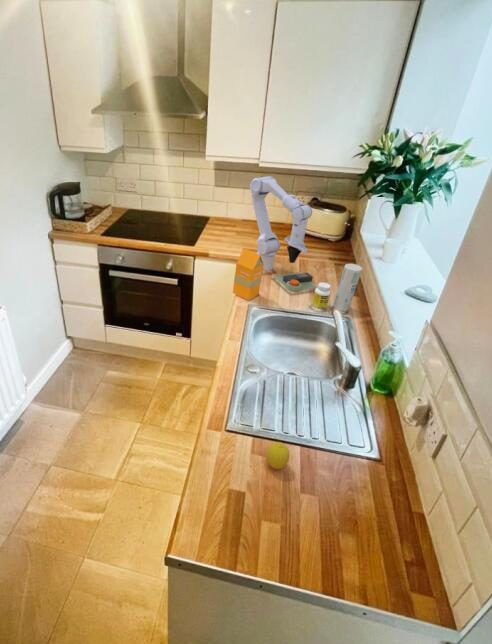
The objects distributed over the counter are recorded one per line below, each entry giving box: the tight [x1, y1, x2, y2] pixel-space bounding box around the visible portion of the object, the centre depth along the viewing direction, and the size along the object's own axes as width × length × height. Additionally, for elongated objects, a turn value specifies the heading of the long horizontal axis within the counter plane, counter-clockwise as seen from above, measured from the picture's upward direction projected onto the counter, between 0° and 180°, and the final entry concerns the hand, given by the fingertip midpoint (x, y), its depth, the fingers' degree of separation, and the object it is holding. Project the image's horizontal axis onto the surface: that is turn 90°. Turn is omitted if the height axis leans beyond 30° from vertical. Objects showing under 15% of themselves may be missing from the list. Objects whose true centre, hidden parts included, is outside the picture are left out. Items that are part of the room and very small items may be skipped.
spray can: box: [332, 263, 363, 312], centre depth 162 cm, size 6×6×20 cm
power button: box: [290, 279, 299, 286], centre depth 178 cm, size 4×4×2 cm
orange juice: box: [232, 248, 264, 301], centre depth 171 cm, size 8×9×20 cm
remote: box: [283, 272, 314, 283], centre depth 185 cm, size 13×4×3 cm, turn 109°
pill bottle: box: [311, 282, 332, 310], centre depth 165 cm, size 6×6×11 cm
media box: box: [272, 272, 318, 293], centre depth 184 cm, size 16×14×4 cm
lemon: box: [265, 441, 290, 470], centre depth 99 cm, size 6×6×8 cm
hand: (292, 262), depth 181 cm, fingers closed
